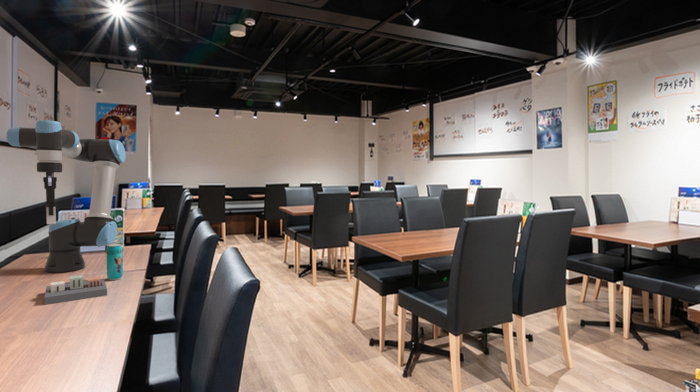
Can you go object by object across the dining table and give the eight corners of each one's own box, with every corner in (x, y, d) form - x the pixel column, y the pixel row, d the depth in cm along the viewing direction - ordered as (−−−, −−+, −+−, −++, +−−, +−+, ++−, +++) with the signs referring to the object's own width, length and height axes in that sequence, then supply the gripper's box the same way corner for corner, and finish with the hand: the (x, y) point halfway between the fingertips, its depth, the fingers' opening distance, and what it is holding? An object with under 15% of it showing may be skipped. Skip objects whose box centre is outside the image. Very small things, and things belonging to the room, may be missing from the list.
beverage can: (115, 281, 155) (114, 246, 154) (103, 280, 156) (103, 245, 156) (126, 277, 161) (125, 243, 160) (114, 276, 162) (114, 243, 161)
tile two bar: (69, 287, 138) (69, 276, 138) (83, 285, 141) (82, 274, 141) (69, 289, 135) (69, 279, 135) (83, 287, 137) (83, 277, 137)
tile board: (46, 292, 139) (46, 286, 139) (103, 284, 150) (103, 278, 150) (44, 304, 126) (44, 297, 126) (107, 295, 137) (107, 288, 137)
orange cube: (87, 288, 142) (87, 278, 142) (100, 286, 144) (100, 276, 144) (88, 291, 138) (88, 280, 138) (101, 289, 141) (101, 278, 141)
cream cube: (51, 293, 135) (50, 282, 135) (64, 291, 137) (64, 280, 137) (50, 296, 132) (50, 285, 132) (64, 294, 134) (64, 283, 134)
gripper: (37, 161, 142) (39, 222, 143) (35, 161, 132) (37, 226, 133) (62, 162, 147) (63, 221, 148) (62, 162, 136) (63, 225, 138)
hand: (51, 223), depth 141 cm, fingers closed
